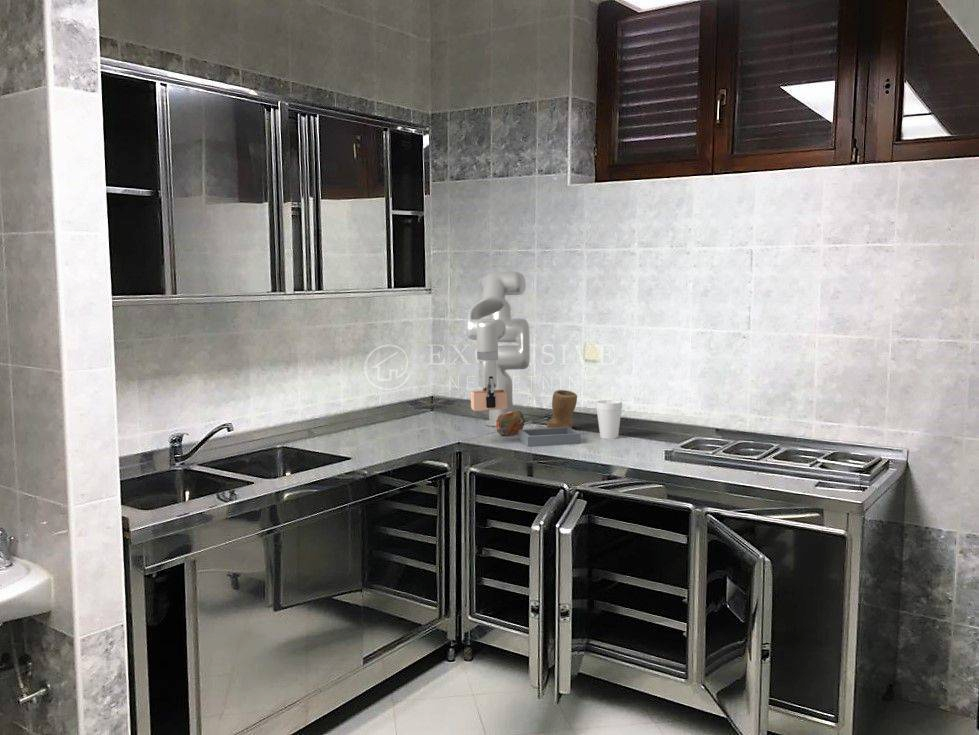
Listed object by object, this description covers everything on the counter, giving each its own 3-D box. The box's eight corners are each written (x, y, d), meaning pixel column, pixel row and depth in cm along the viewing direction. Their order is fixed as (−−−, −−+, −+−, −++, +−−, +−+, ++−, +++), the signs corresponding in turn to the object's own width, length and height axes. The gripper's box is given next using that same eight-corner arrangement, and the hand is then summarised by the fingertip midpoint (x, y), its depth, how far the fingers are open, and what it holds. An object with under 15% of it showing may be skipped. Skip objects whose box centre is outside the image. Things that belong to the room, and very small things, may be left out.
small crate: (471, 407, 312) (470, 391, 311) (503, 405, 314) (503, 389, 313) (474, 410, 305) (473, 394, 305) (507, 408, 308) (507, 392, 307)
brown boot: (575, 432, 327) (575, 393, 325) (544, 432, 329) (543, 392, 328) (580, 425, 341) (579, 387, 340) (550, 425, 344) (549, 387, 342)
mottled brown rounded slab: (501, 437, 320) (501, 415, 319) (495, 436, 322) (494, 414, 321) (525, 431, 332) (524, 409, 331) (518, 430, 334) (518, 408, 333)
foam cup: (592, 438, 314) (592, 403, 313) (601, 434, 322) (601, 399, 321) (617, 440, 310) (617, 404, 308) (625, 435, 318) (625, 400, 316)
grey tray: (518, 439, 316) (518, 429, 315) (569, 436, 319) (569, 426, 319) (527, 446, 302) (527, 436, 301) (580, 443, 305) (580, 433, 305)
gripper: (472, 353, 315) (474, 402, 317) (481, 359, 298) (483, 410, 300) (493, 353, 316) (494, 401, 319) (503, 358, 299) (504, 409, 302)
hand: (488, 405), depth 309 cm, fingers closed on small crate, 6 cm apart
